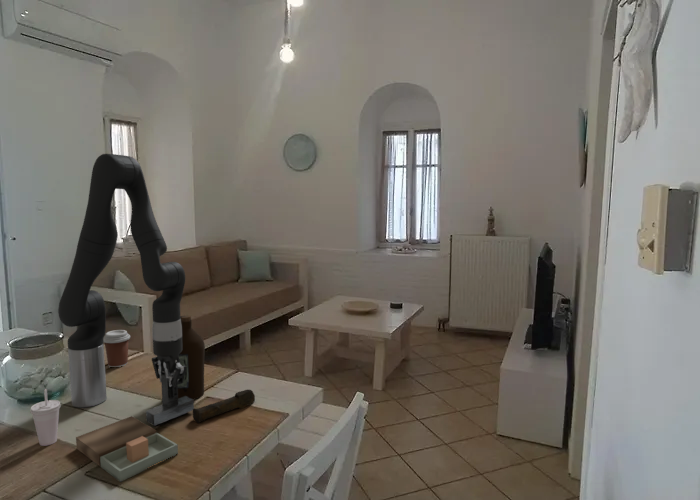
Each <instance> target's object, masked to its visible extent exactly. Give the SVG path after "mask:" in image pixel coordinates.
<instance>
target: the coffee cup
mask: <svg viewBox="0 0 700 500" xmlns="http://www.w3.org/2000/svg"><path fill="white" fill-rule="evenodd" d="M130 339H131V334H129V333H128V331H127V330H125V329H116V330H110V331H109V330H108V331H107V332H105V336H104V338H103V343H104V349H105V354H106V359H107V360H106V361H107V367H108V366H109V367H108V368H110V367H119V368H121V367H120V366H123V367H125V366H127V365H128V364H129V363H128V361H129V360H128V359H129V340H130ZM127 363H128V364H127ZM126 364H127V365H126ZM124 365H125V366H124Z"/></svg>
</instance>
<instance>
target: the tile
mask: <svg viewBox="0 0 700 500" xmlns="http://www.w3.org/2000/svg"><path fill="white" fill-rule="evenodd" d="M126 450H127V459H128V460H129V461H131V462H132V463H133V462H135V461H137V460H139V459H142V458H144V457H146V456H148V455H149V449H148V439H147V438H145V437H143V436H141V437H139V438H137V439H134V440H132V441H129V442H127V443H126Z"/></svg>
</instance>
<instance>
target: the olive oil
mask: <svg viewBox="0 0 700 500" xmlns="http://www.w3.org/2000/svg"><path fill="white" fill-rule="evenodd" d="M180 317H181V324H182V344H183V350H182V352H181V353H180V354H179V359H180V364H181V365H182V366H184V365H185V366H186V372H185V376H184V380H183V383H182V384H179V385H178V398H181V397H184V396H187V397H189V398H191V399H193V400H196V399H199V398H202V396H203V395H204V393H205V353H206V352H205V351H206V348H205V347H206V346H205V341H204V339H203V337H202V336H201V334H199V332H197V331H196V330H195V329H194V328H193V327H192V325H193V324H192V315H189V314H184V315H183V314H182V315H180Z"/></svg>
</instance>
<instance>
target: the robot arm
mask: <svg viewBox="0 0 700 500" xmlns="http://www.w3.org/2000/svg"><path fill="white" fill-rule="evenodd" d="M142 169H143V168H142V167H141V164H140V163H139V162H138V160H137V159H136V158H134V157H132V156H129V155H123V154H114V153H102V154H100V155H99V156H98V157H97V158H96V160H95V161H94V164H93V166H92V170H91V171H92V172H91V177H90V184H89V192H88V200H87V204H86V205H87V206H86V209H85V215H84V219H83V223H82V227H81V229H80V234H79V237H78V242H77V245H76V250H75V256H74V258H73V261H72V265H71V269H70V273H69V276H68V279H67V282H66V284H65V287H64V289H63V292H62V295H61V298H60V299H59V303H58V309H57V310H58V317H59V320H60V322H61V323H62V324H63V325H64V326H66V327H69V328H72V327H77V329H76V330H75V331H74V332H73V333H72V334H71V335H70V336H69V337H68V338H67V353H68V354H67V355H68V364H69V365H68V366H69V380H70V381H69V382H70V398H71V399H70V400H71V406H73V407H74V408H90V407H94V406H97V405H100V404H102V403H103V402H104V401H106V400H107V399H108V398H107V397H108V395H107V377H106V364H105V363H106V362H105V361H106V360H105V342H103V338H104V337H105V334H106V333H107V332H106V329H107V327H106V326H107V325H106V324H107V323H106V322H107V321H106V320H107V319H106V318H107V317H106V314H107V313H106V310H107V308H106V303H105V300H104V297H103V296H102V294H101V293H99V292H98V291H96V290H94V289H93V290H91V288H92V286H93V284H94V282H95V281H96V279H97V278H98V277H99V276H100V274H101V273H102V272H103V271H104V269H105V268H106V267H107V266H108V264H109V263H110V261H111V260H112V258H113V255H114V252H115V248H116V244H117V241H118V236H119V235H118V228H117V226H116V221H115V219H114V217H113V213H112V201H113V198H114V197H113V196H114V193H115V190H124V191H125V193H126V194H127V197H128V198H129V201H130V205H131V213H130V214H131V216H130V222H129V223H130V225H129V226H130V232H131V236H132V239H133V241H134V244H135V246H136V248H137V250H138V253H139V256H140V263H141V269H142V278H143V281H144V284H145V285H146V287H147V288H149V289H150V290H151V291H153V292H160V291H161V292H162V294H161V295H160V296H159V297H157V298H156V299H154V300H153V302H152V305H151V306H152V309H151V310H152V311H151V312H152V328H151V329H152V330H151V332H152V352H153V354H154V357H152V358H151V362H152V366H153V370H154V374H155V377H156V379H159V382H160V383H161V376H162V374H165V373H166V378H168V382H169V398H170V399H174V398H177V397H178V385H179V384H182V383H183V380H184V376H185V372H186V366H185V365H184V366H182V365H181V364H180V359H179V354H180V353H181V352H182V350H183V344H182V324H181V317H180V316H181V301H182V299H183V293H184V289H185V284H186V273H185V269H184V267H183V265H181V264H180V263H179V262H176V261H169V262H168V261H167V262H163V263H161V258H160V257H161V256H163V255H165V253H166V252H167V250H168V248H167V247H168V246H167V244H166V241H165V239H164V236H163V234H162V232H161V230H160V227H159V225H158V223H157V220H156V218H155V215H154V211H153V207H152V203H151V199H150V196H149V192H148V188H147V184H146V181H145V180H146V179H145V175H144V173H143V170H142ZM173 372H175V373H173ZM170 373H173V374H170ZM173 377H174V378H173ZM172 378H173V381H172Z"/></svg>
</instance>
